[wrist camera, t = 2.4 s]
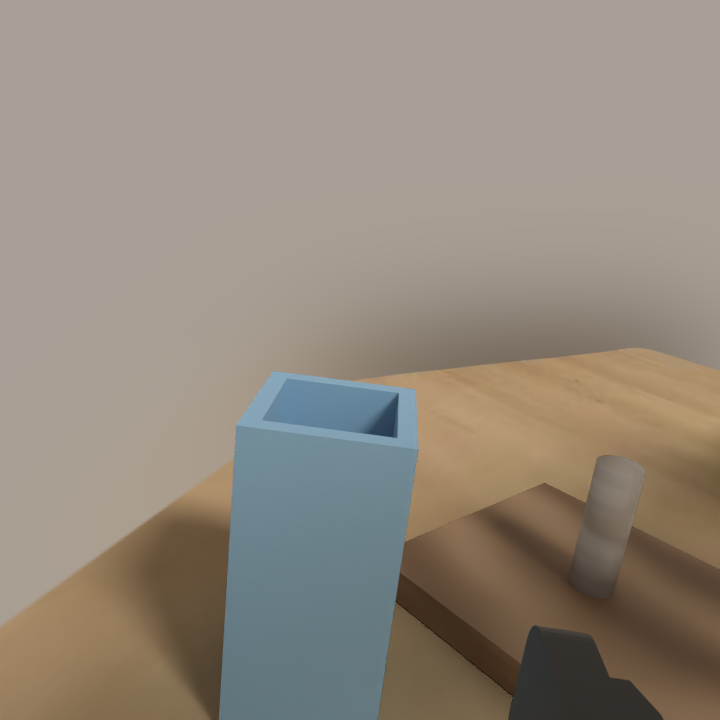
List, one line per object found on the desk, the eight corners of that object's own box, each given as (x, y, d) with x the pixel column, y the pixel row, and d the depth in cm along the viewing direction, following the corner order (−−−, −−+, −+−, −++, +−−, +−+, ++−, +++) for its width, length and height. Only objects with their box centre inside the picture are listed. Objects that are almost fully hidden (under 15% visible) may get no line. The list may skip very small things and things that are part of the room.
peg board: (539, 504, 38) (564, 390, 36) (800, 642, 28) (856, 496, 26) (372, 581, 29) (392, 435, 27) (671, 823, 19) (739, 623, 17)
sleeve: (254, 622, 26) (273, 371, 23) (379, 640, 26) (415, 389, 22) (218, 728, 21) (236, 425, 18) (372, 752, 21) (418, 449, 17)
